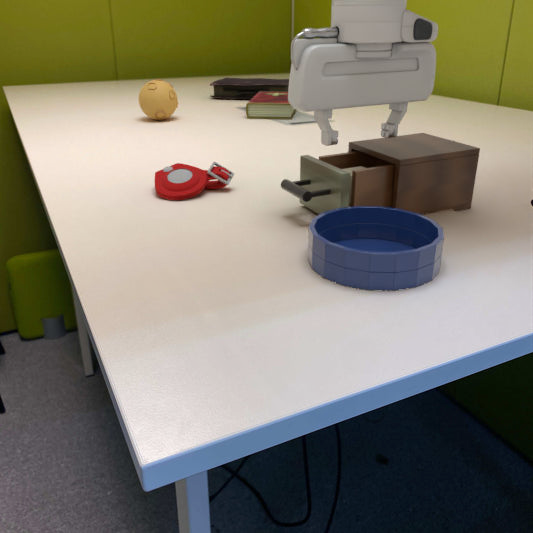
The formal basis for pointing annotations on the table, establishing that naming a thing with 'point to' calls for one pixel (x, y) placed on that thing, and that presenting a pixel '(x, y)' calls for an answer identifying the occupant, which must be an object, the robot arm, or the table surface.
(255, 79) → the diary
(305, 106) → the robot arm
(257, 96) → the hardcover book
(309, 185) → the drawer
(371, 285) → the bowl
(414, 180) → the cabinet
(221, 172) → the tracker holder
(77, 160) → the table surface
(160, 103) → the stress ball
